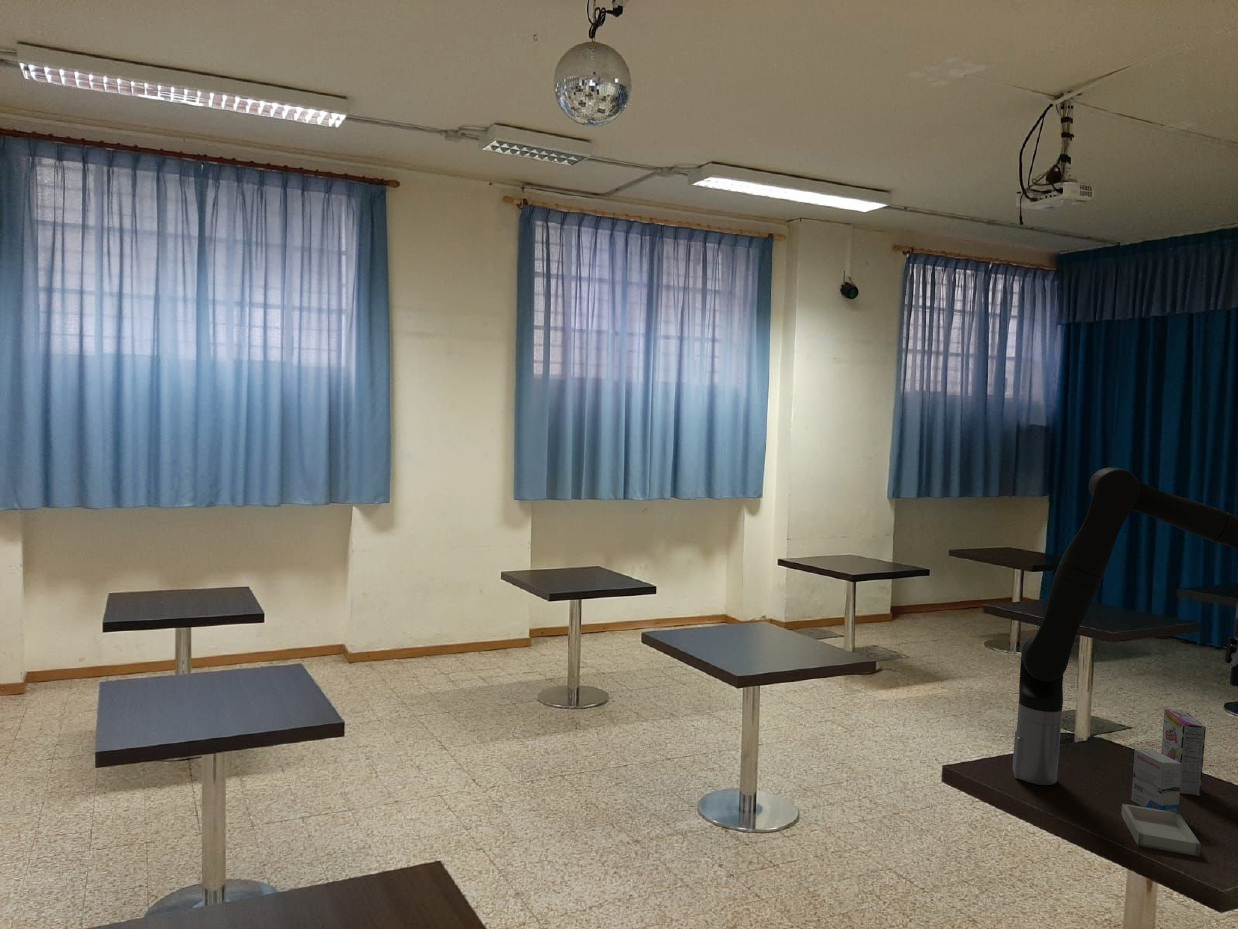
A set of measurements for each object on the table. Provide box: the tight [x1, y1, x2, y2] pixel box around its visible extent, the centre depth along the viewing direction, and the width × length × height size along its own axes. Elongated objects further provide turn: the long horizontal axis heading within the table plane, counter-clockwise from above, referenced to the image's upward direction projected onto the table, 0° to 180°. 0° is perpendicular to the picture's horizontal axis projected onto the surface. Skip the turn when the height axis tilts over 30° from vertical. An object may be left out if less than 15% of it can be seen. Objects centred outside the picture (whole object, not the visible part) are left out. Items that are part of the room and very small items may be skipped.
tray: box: [1120, 803, 1202, 857], centre depth 180 cm, size 11×15×2 cm
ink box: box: [1131, 748, 1181, 814], centre depth 192 cm, size 9×5×12 cm, turn 9°
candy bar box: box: [1160, 708, 1207, 797], centre depth 205 cm, size 11×5×16 cm, turn 168°
